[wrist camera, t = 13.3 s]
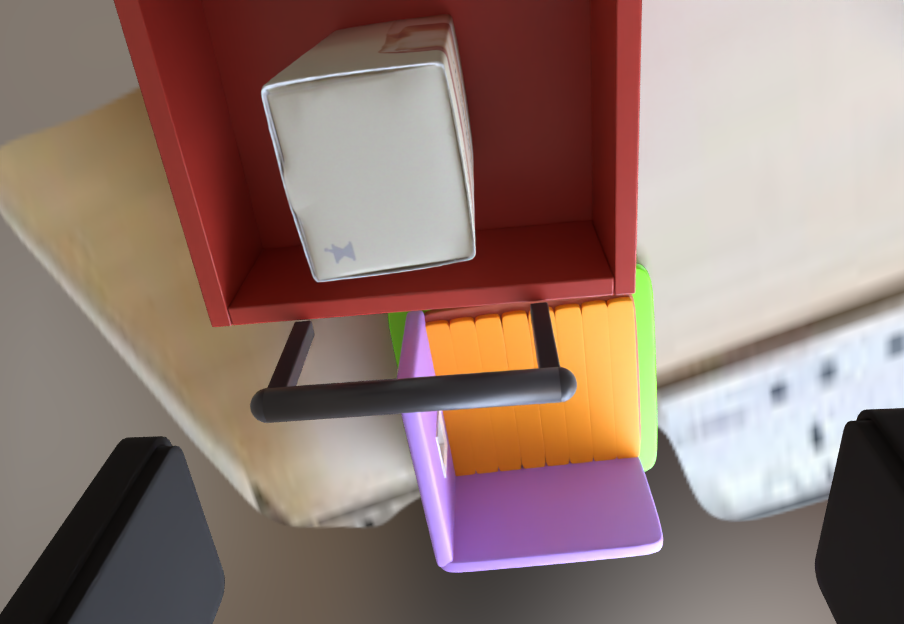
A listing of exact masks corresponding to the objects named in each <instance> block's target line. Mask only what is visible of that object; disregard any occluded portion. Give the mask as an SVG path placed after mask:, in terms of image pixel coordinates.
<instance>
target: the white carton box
mask: <svg viewBox="0 0 904 624" xmlns="http://www.w3.org/2000/svg"><path fill="white" fill-rule="evenodd" d="M261 98H262V102H263V106H264V110H265V114H266V118H267V122H268V126H269V132H270V135H271V138H272V142H273V146H274V150H275V155H276V158H277V162H278V167H279V170H280V174H281V178H282V182H283V186H284V189H285V193H286V197H287V200H288V203H289V206H290V210H291V212H292V215H293V218H294V222H295V225H296V228H297V231H298V234H299V237H300V240H301V243H302V246H303V249H304V253H305V256H306V258H307V261H308V264H309V267H310V270H311V273H312V276H313V278H314V279H315V281H317V282H327V281H335V280H342V279H352V278H360V277H368V276H376V275H384V274H391V273H398V272H405V271H412V270H420V269H426V268H431V267H436V266H442V265H448V264H452V263H456V262H462V261H467V260H471V259H473V258H474V256H475V254H476V247H475V222H474V172H473V142H472V132H471V124H470V116H469V109H468V102H467V95H466V89H465V83H464V76H463V71H462V65H461V59H460V53H459V47H458V42H457V37H456V32H455V27H454V23H453V19H452V17H451V15H448V14H442V15H434V16H427V17H419V18H411V19H403V20H396V21H389V22H382V23H376V24H370V25H364V26H358V27H352V28H346V29H340V30H336V31H334V32H333V33H332V34H330V35H329V36H328V37H326V38H325V39H324V40H322V41H321V42H320V43H318V44H317V45H316V46H315V47H313V48H312V49H311V50H309V51H308V52H306V53H305V54H303V55H302V56H301V57H300V58H298V59H297V60H296V61H294V62H293V63H292V64H291V65H289V66H288V67H286V68H285V69H284V70H282V71H281V72H280V73H278V74H277V75H276V76H275V77H273V78H272V79H270V81H269V82H267V83H266V84H265V85H263V87H262V90H261Z"/></svg>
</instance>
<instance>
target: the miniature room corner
mask: <svg viewBox="0 0 904 624" xmlns="http://www.w3.org/2000/svg"><path fill="white" fill-rule="evenodd" d="M544 302H546V303H548V307H549V312H550V317H551V322H552V327H553V332H554V337H555V342H556V347H557V353H558V358H559V363H560V367H563V368H566V369H568V370H570V371H571V372H572V373H573V374H574V376H575V378H576V380H577V389H576V392H575V394H574V395H573V397H572V398H571V399H569V400H567V401H565V402H559V403H545V404H531V405H516V406H502V407H488V408H473V409H459V410H445V411H430V412H416V413H402V414H401V415H402V419H403V423H404V428H405V432H406V436H407V440H408V444H409V449H410V453H411V457H412V461H413V465H414V470H415V474H416V478H417V482H418V487H419V491H420V495H421V499H422V503H423V507H424V512H425V516H426V520H427V524H428V529H429V533H430V537H431V541H432V545H433V549H434V554H435V558H436V561H437V564H438V566H440V567H442V569H444V570H445V571H449V572H469V571H482V570H494V569H505V568H516V567H527V566H538V565H549V564H559V563H569V562H580V561H591V560H600V559H610V558H621V557H630V556H638V555H646V554H651V553H655V552H657V551H659V550H660V549H661V547H662V544H663V535H662V529H661V525H660V522H659V518H658V514H657V511H656V507H655V504H654V501H653V497H652V494H651V491H650V488H649V484H648V481H647V478H646V475H645V471H647V470H648V469H650V468H651V467H652V466H653V465H654V463H655V460H656V454H657V384H656V351H655V326H654V306H653V292H652V285H651V280H650V277H649V274H648V272H647V270H646V269H645V268H644V267H643V266H642V265H640V264H638V263H636V292H635V293H634V294H623V295H615V294H613V295H608V296H595V297H582V298H570V299H557V300H545V301H532V302H519V303H507V304H494V305H481V306H469V307H456V308H444V309H431V310H418V311H406V312H393V313H388V321H389V328H390V334H391V339H392V344H393V348H394V353H395V358H396V362H397V367H398V374H397V379H399V378H413V377H427V376H440V375H454V374H468V373H481V372H495V371H509V370H522V369H536V368H538V364H537V357H536V350H535V344H534V337H533V330H532V323H531V315H530V304H532V303H544Z"/></svg>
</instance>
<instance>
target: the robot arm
mask: <svg viewBox="0 0 904 624" xmlns="http://www.w3.org/2000/svg"><path fill="white" fill-rule="evenodd" d="M815 572H816V578H817V581H818V585H819V587H820V589H821V592H822V594H823V596H824V598H825V600H826V602H827V604H828V606H829V608H830V610H831V613H832V615H833V617H834V619H835V621H836V623H837V624H904V408H895V409H869V410H863V411H861V413H860V414H859V415H858V417H857V420H856V421H849V422H847V424H846V425H845V427H844V431H843V435H842V440H841V444H840V449H839V453H838V458H837V462H836V467H835V472H834V476H833V481H832V485H831V490H830V494H829V499H828V504H827V509H826V513H825V517H824V522H823V526H822V531H821V536H820V540H819V545H818V549H817V554H816V559H815ZM224 586H225V578H224V572H223V569H222V566H221V563H220V560H219V557H218V554H217V551H216V548H215V545H214V542H213V539H212V536H211V533H210V531H209V527H208V525H207V522H206V519H205V516H204V513H203V510H202V507H201V504H200V501H199V498H198V495H197V492H196V489H195V486H194V483H193V480H192V477H191V474H190V471H189V468H188V465H187V462H186V459H185V457H184V454H183V452H182V450H181V448H180V447H178V446H172V445H171V442H170V441H169V440H168V439H167V438H166V437H162V436H160V437H134V438H133V437H132V438H125V439H122V440H121V441H120V442H119V444H118V445H117V446H116V448H115V449H114V451H113V452H112V453H111V455H110V456H109V458H108V459H107V460H106V462H105V464H104V465H103V466H102V468H101V469H100V471H99V472H98V474H97V475H96V477H95V478H94V479H93V481H92V482H91V484H90V485H89V487H88V488H87V489H86V491H85V492H84V494H83V495H82V497H81V498H80V500H79V501H78V502H77V504H76V505H75V507H74V508H73V510H72V511H71V513H70V514H69V515H68V517H67V518H66V520H65V521H64V523H63V524H62V526H61V527H60V528H59V530H58V531H57V533H56V534H55V536H54V537H53V539H52V540H51V541H50V543H49V544H48V546H47V547H46V549H45V550H44V552H43V553H42V555H41V556H40V558H39V559H38V560H37V562H36V563H35V565H34V566H33V568H32V569H31V570H30V572H29V574H28V575H27V576H26V578H25V579H24V581H23V582H22V584H21V585H20V586H19V588H18V589H17V591H16V592H15V594H14V595H13V597H12V598H11V599H10V601H9V602H8V604H7V605H6V607H5V608H4V609H3V611H2V612H1V614H0V624H212V623H213V621H214V618H215V616H216V613H217V611H218V608H219V606H220V603H221V600H222V597H223V593H224Z"/></svg>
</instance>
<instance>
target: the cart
mask: <svg viewBox="0 0 904 624" xmlns="http://www.w3.org/2000/svg"><path fill="white" fill-rule="evenodd" d="M114 3H115V6H116V9H117V13H118V16H119V19H120V23H121V26H122V29H123V33H124V36H125V39H126V43H127V46H128V49H129V52H130V56H131V59H132V62H133V66H134V69H135V72H136V76H137V79H138V83H139V86H140V89H141V92H142V96H143V99H144V102H145V106H146V109H147V112H148V116H149V119H150V122H151V126H152V129H153V132H154V136H155V139H156V142H157V146H158V149H159V152H160V155H161V159H162V162H163V165H164V169H165V172H166V175H167V179H168V182H169V185H170V189H171V192H172V195H173V199H174V202H175V205H176V209H177V212H178V215H179V218H180V222H181V225H182V228H183V232H184V235H185V238H186V242H187V245H188V248H189V252H190V255H191V258H192V262H193V265H194V268H195V272H196V275H197V278H198V281H199V285H200V288H201V291H202V295H203V298H204V301H205V305H206V308H207V311H208V315H209V318H210V321H211V325H212V327H221V326H231V325H232V324H233V325H242V324H254V323H267V322H280V321H292V320H305V319H317V318H330V317H343V316H355V315H368V314H381V313H393V312H406V311H418V310H431V309H444V308H456V307H469V306H481V305H494V304H507V303H519V302H532V301H545V300H557V299H570V298H582V297H595V296H608V295H613V294H615V295H623V294H634V293H635V292H636V248H637V203H638V157H639V111H640V66H641V20H642V0H114ZM442 14H448V15H451V17H452V19H453V23H454V27H455V32H456V37H457V42H458V47H459V53H460V59H461V65H462V71H463V76H464V83H465V89H466V95H467V102H468V109H469V116H470V124H471V132H472V142H473V172H474V222H475V247H476V254H475V256H474V258H473V259H471V260H467V261H462V262H456V263H452V264H448V265H442V266H436V267H431V268H426V269H420V270H412V271H405V272H398V273H391V274H384V275H376V276H368V277H360V278H352V279H342V280H335V281H327V282H317V281H315V279H314V278H313V276H312V273H311V270H310V267H309V264H308V261H307V258H306V256H305V253H304V249H303V246H302V243H301V240H300V237H299V234H298V231H297V228H296V225H295V222H294V218H293V215H292V212H291V210H290V206H289V203H288V200H287V197H286V193H285V189H284V186H283V182H282V178H281V174H280V170H279V167H278V162H277V158H276V155H275V150H274V146H273V142H272V138H271V135H270V132H269V126H268V122H267V118H266V114H265V110H264V106H263V102H262V98H261V90H262V87H263V85H265V84H266V83H267V82H269V81H270V79H272V78H273V77H275V76H276V75H277V74H278V73H280V72H281V71H282V70H284V69H285V68H286V67H288V66H289V65H291V64H292V63H293V62H294V61H296V60H297V59H298V58H300V57H301V56H302V55H303V54H305V53H306V52H308V51H309V50H311V49H312V48H313V47H315V46H316V45H317V44H318V43H320V42H321V41H322V40H324V39H325V38H326V37H328V36H329V35H330V34H332V33H333V32H334V31H336V30H340V29H346V28H352V27H358V26H364V25H370V24H376V23H382V22H389V21H396V20H403V19H411V18H419V17H427V16H434V15H442ZM530 315H531V323H532V330H533V337H534V344H535V350H536V357H537V364H538V368H536V369H522V370H509V371H495V372H481V373H468V374H454V375H440V376H427V377H413V378H399V379H385V380H372V381H358V382H344V383H331V384H317V385H303V386H296V384H297V382H298V379H299V376H300V373H301V371H302V368H303V365H304V362H305V360H306V357H307V354H308V351H309V349H310V346H311V343H312V340H313V337H314V330H313V326H312V322H311V321H302V322H295V323H294V326H293V328H292V331H291V333H290V335H289V338H288V340H287V342H286V345H285V347H284V350H283V352H282V354H281V357H280V359H279V362H278V364H277V366H276V369H275V371H274V373H273V376H272V378H271V381H270V383H269V385H268V388H265V389H262V390H260V391H258V392H257V393H256V394H255V395H254V396H253V398H252V400H251V404H250V408H251V412H252V414H253V416H254V417H255V418H256V419H257V420H259V421H261V422H265V423H273V422H287V421H301V420H316V419H330V418H344V417H359V416H373V415H387V414H402V413H416V412H430V411H445V410H459V409H473V408H488V407H502V406H516V405H531V404H545V403H559V402H565V401H567V400H569V399H571V398H572V397H573V395H574V394H575V392H576V389H577V380H576V378H575V376H574V374H573V373H572V372H571V371H570V370H568V369H566V368H563V367H560V363H559V358H558V353H557V347H556V342H555V337H554V332H553V327H552V322H551V317H550V312H549V307H548V303H546V302H544V303H532V304H530Z"/></svg>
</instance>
